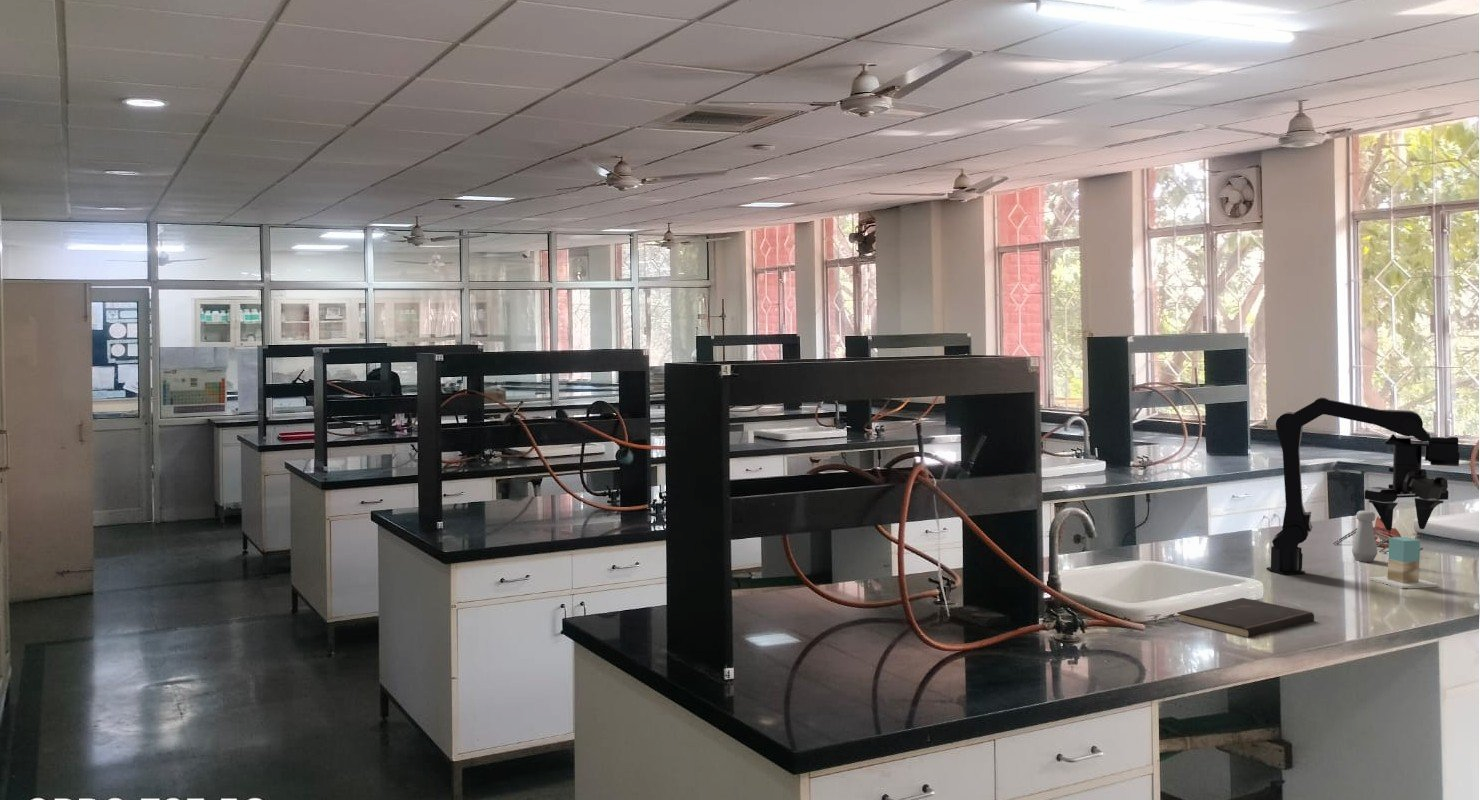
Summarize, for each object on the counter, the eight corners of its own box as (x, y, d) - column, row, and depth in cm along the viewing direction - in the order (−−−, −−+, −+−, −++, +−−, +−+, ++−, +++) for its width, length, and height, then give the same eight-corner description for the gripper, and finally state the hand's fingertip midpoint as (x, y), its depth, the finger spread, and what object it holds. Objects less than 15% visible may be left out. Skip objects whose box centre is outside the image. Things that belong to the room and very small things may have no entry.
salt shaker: (1375, 563, 288) (1376, 513, 287) (1350, 560, 291) (1351, 511, 290) (1378, 560, 292) (1380, 510, 292) (1353, 557, 296) (1355, 508, 295)
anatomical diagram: (1368, 513, 323) (1449, 523, 299) (1377, 540, 324) (1458, 552, 301) (1318, 545, 317) (1397, 558, 293) (1328, 573, 318) (1406, 587, 295)
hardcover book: (1177, 623, 230) (1177, 612, 230) (1242, 608, 243) (1242, 597, 243) (1249, 640, 217) (1249, 628, 217) (1314, 623, 230) (1314, 612, 230)
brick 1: (1403, 562, 262) (1403, 541, 262) (1388, 558, 266) (1389, 537, 266) (1419, 561, 263) (1420, 540, 263) (1404, 557, 267) (1405, 536, 267)
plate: (1401, 588, 259) (1401, 586, 259) (1368, 579, 269) (1369, 577, 269) (1438, 586, 261) (1438, 584, 261) (1404, 577, 271) (1404, 575, 271)
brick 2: (1402, 583, 262) (1403, 562, 262) (1387, 579, 267) (1388, 558, 266) (1418, 582, 263) (1419, 561, 263) (1403, 578, 268) (1404, 557, 267)
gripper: (1400, 469, 253) (1398, 537, 254) (1469, 466, 257) (1467, 533, 258) (1363, 463, 264) (1361, 529, 265) (1429, 461, 268) (1427, 526, 269)
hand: (1405, 529), depth 264 cm, fingers open, 9 cm apart
